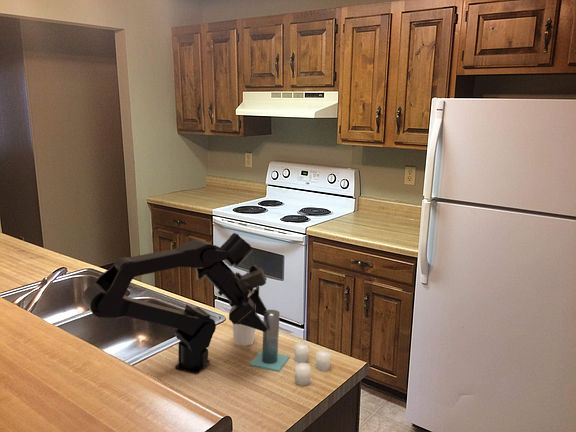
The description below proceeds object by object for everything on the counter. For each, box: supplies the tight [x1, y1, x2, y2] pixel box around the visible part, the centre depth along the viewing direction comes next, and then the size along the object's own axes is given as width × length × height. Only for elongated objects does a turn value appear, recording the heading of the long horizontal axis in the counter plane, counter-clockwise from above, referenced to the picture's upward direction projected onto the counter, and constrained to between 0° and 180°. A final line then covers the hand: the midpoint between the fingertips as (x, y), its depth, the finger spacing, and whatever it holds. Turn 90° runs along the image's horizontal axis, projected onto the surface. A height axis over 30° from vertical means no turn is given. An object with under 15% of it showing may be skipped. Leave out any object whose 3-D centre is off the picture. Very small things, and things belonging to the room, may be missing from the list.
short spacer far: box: [315, 349, 332, 372], centre depth 124 cm, size 4×4×4 cm
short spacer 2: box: [294, 362, 311, 387], centre depth 117 cm, size 4×4×4 cm
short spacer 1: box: [293, 342, 310, 364], centre depth 128 cm, size 4×4×4 cm
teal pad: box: [249, 349, 290, 372], centre depth 127 cm, size 8×8×1 cm
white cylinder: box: [231, 322, 256, 347], centre depth 137 cm, size 7×7×7 cm
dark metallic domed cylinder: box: [261, 309, 281, 364], centre depth 125 cm, size 4×4×13 cm
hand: (267, 322), depth 124 cm, fingers open, 9 cm apart
